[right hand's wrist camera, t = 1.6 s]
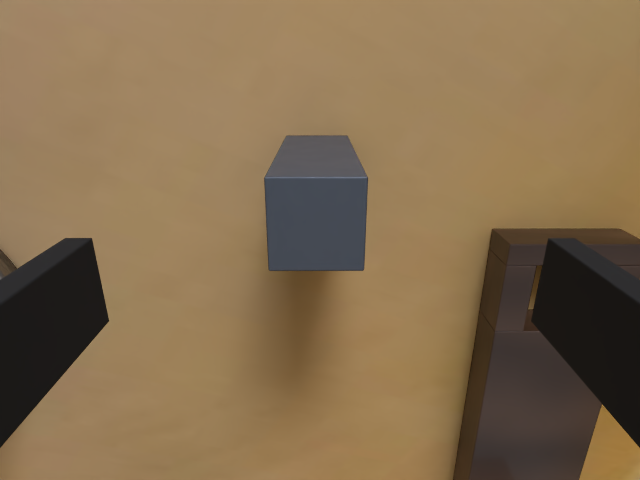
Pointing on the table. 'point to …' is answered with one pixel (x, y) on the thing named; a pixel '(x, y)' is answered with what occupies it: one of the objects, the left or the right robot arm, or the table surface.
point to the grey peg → (316, 206)
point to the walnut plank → (528, 369)
